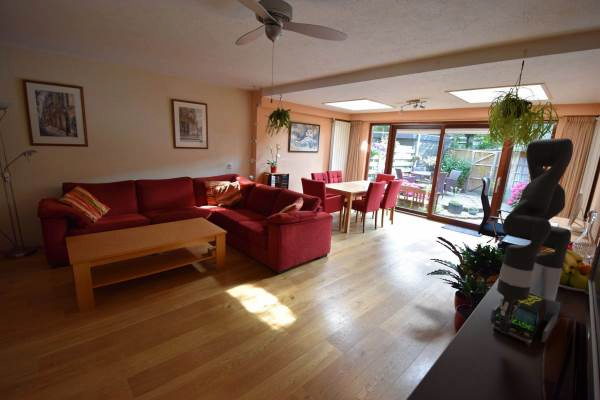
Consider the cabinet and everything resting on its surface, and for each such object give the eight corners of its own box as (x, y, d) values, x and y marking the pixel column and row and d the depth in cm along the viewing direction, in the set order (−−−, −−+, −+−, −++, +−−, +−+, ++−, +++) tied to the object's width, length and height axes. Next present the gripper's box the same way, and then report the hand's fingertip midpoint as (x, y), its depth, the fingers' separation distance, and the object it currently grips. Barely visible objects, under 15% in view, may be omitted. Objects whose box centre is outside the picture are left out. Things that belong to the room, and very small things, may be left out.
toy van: (490, 331, 92) (495, 305, 90) (509, 308, 107) (514, 285, 106) (529, 350, 84) (536, 321, 82) (544, 321, 99) (550, 297, 98)
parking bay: (506, 303, 111) (510, 285, 109) (556, 322, 99) (560, 303, 97) (490, 318, 99) (494, 299, 98) (544, 342, 87) (549, 320, 86)
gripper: (506, 270, 87) (496, 319, 90) (492, 280, 79) (482, 333, 82) (536, 280, 81) (524, 331, 84) (524, 291, 73) (512, 347, 76)
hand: (503, 332), depth 83 cm, fingers closed
